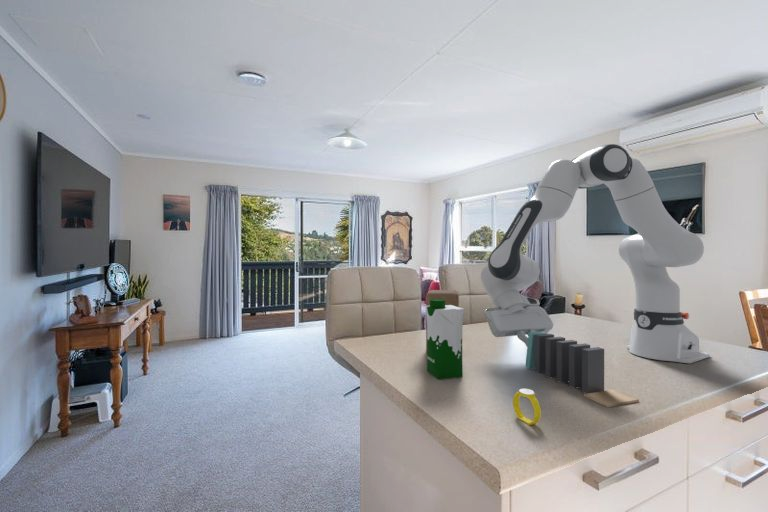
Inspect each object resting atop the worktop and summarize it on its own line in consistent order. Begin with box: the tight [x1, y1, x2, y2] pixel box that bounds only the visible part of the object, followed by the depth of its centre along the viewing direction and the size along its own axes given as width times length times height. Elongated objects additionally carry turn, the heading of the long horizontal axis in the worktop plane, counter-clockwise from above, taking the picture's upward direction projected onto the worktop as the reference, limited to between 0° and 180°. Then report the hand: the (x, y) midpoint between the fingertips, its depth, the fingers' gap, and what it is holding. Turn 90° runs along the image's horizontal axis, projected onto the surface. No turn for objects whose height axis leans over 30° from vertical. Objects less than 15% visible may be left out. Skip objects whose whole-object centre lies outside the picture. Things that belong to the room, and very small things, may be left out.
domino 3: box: [544, 336, 566, 379], centre depth 94 cm, size 2×5×10 cm, turn 109°
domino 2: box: [534, 333, 555, 374], centre depth 98 cm, size 2×5×10 cm, turn 109°
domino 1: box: [525, 331, 548, 370], centre depth 101 cm, size 2×5×10 cm, turn 109°
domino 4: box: [556, 339, 578, 384], centre depth 91 cm, size 2×5×10 cm, turn 109°
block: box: [425, 289, 460, 354], centre depth 116 cm, size 10×10×20 cm
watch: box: [512, 388, 542, 426], centre depth 69 cm, size 6×3×6 cm, turn 22°
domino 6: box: [581, 346, 605, 394], centre depth 83 cm, size 2×5×10 cm, turn 109°
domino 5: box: [568, 343, 591, 389], centre depth 87 cm, size 2×5×10 cm, turn 109°
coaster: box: [583, 388, 640, 408], centre depth 79 cm, size 9×6×1 cm, turn 109°
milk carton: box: [425, 299, 465, 380], centre depth 96 cm, size 9×9×20 cm
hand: (533, 346), depth 102 cm, fingers closed
